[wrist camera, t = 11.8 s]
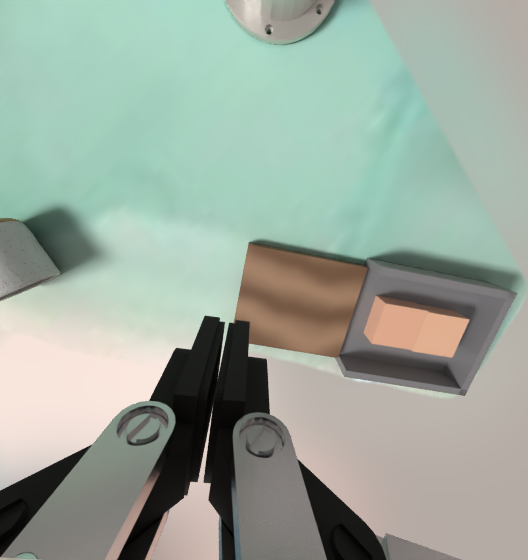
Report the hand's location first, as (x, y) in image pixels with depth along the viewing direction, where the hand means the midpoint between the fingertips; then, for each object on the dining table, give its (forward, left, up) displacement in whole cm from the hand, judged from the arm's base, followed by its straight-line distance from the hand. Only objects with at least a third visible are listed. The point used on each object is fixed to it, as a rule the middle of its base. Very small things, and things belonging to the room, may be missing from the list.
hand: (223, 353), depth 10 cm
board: (+7, +8, -27) cm, 29 cm away
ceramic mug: (+9, -28, -27) cm, 40 cm away
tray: (+7, +26, -27) cm, 38 cm away
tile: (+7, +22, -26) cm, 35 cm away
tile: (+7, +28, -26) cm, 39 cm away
